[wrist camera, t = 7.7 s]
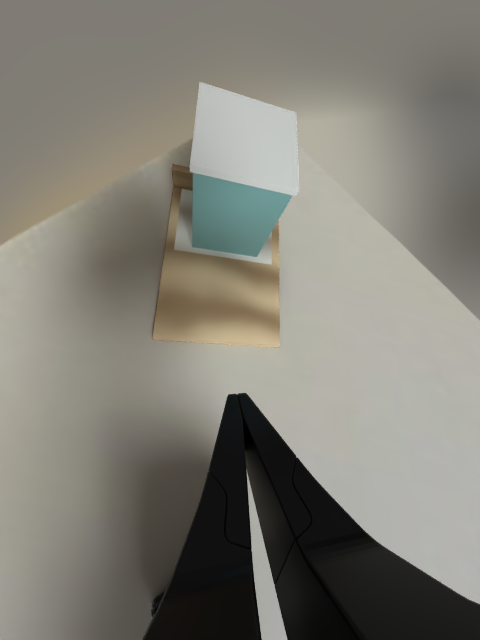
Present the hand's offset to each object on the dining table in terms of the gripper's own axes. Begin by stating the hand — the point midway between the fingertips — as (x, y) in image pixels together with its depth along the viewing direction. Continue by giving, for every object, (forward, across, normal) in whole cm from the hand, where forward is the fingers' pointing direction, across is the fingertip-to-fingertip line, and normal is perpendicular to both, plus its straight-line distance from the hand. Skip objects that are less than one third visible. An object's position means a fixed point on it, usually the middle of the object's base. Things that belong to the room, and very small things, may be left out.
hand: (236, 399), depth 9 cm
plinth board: (+20, -1, -1) cm, 20 cm away
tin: (+23, -2, -6) cm, 23 cm away
